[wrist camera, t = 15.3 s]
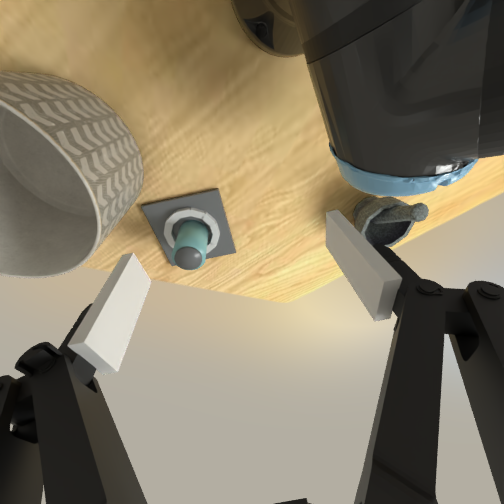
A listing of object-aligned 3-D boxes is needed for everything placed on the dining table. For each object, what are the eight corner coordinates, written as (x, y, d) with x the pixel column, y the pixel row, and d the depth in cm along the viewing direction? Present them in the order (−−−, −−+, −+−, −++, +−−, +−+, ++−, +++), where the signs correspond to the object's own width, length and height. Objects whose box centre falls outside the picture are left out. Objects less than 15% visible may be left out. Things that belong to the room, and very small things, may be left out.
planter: (171, 144, 35) (133, 184, 21) (120, 228, 43) (65, 301, 28) (25, 33, 27) (-214, -34, 12) (-7, 161, 34) (-179, 216, 20)
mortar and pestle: (378, 232, 49) (416, 267, 40) (338, 230, 48) (367, 266, 38) (403, 181, 43) (456, 208, 33) (358, 178, 42) (399, 205, 32)
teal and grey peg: (175, 222, 42) (165, 249, 35) (204, 217, 42) (199, 242, 35) (184, 246, 45) (177, 274, 39) (211, 241, 45) (209, 269, 38)
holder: (142, 204, 40) (139, 209, 39) (218, 188, 40) (218, 192, 39) (172, 263, 49) (171, 269, 47) (235, 250, 48) (236, 255, 47)
